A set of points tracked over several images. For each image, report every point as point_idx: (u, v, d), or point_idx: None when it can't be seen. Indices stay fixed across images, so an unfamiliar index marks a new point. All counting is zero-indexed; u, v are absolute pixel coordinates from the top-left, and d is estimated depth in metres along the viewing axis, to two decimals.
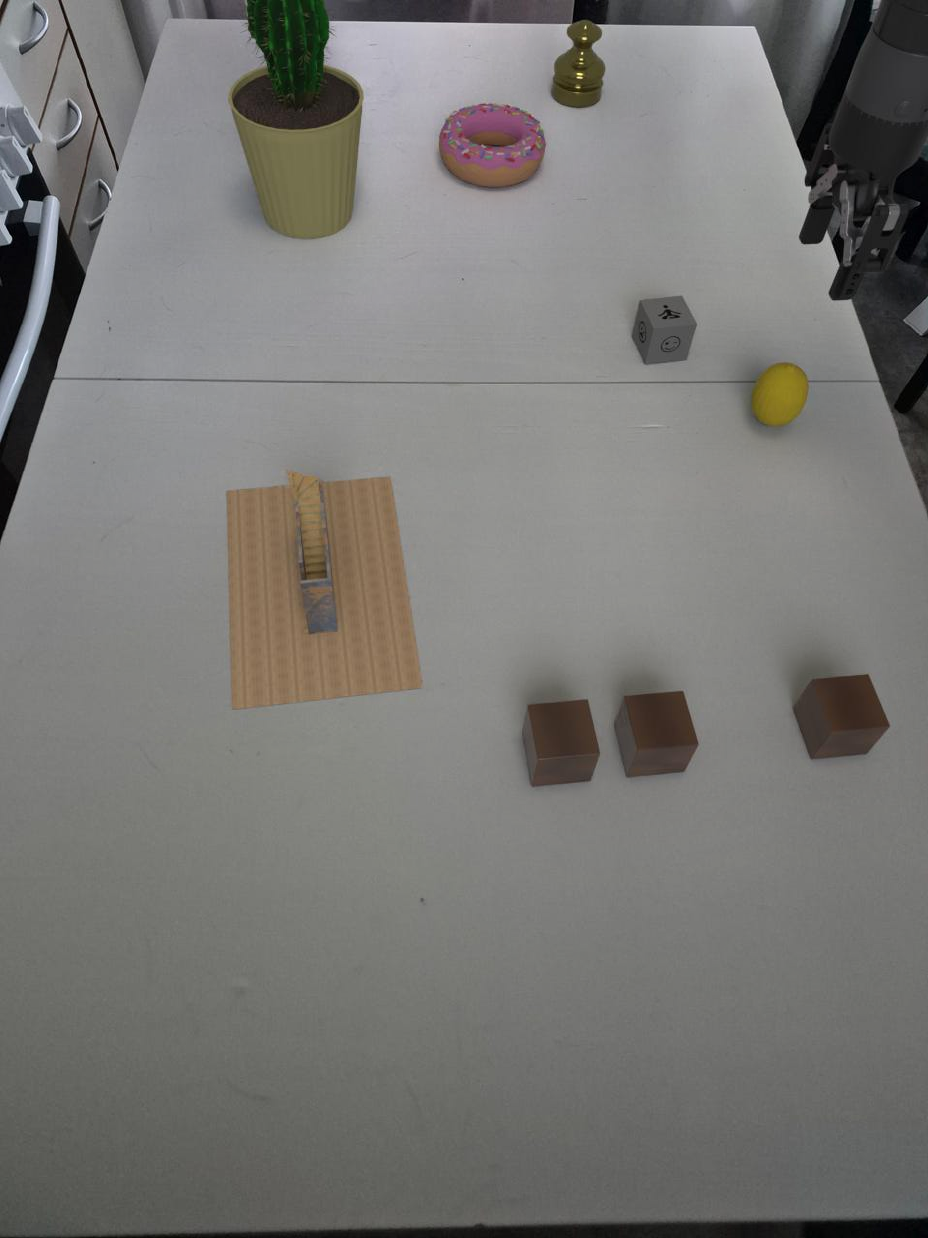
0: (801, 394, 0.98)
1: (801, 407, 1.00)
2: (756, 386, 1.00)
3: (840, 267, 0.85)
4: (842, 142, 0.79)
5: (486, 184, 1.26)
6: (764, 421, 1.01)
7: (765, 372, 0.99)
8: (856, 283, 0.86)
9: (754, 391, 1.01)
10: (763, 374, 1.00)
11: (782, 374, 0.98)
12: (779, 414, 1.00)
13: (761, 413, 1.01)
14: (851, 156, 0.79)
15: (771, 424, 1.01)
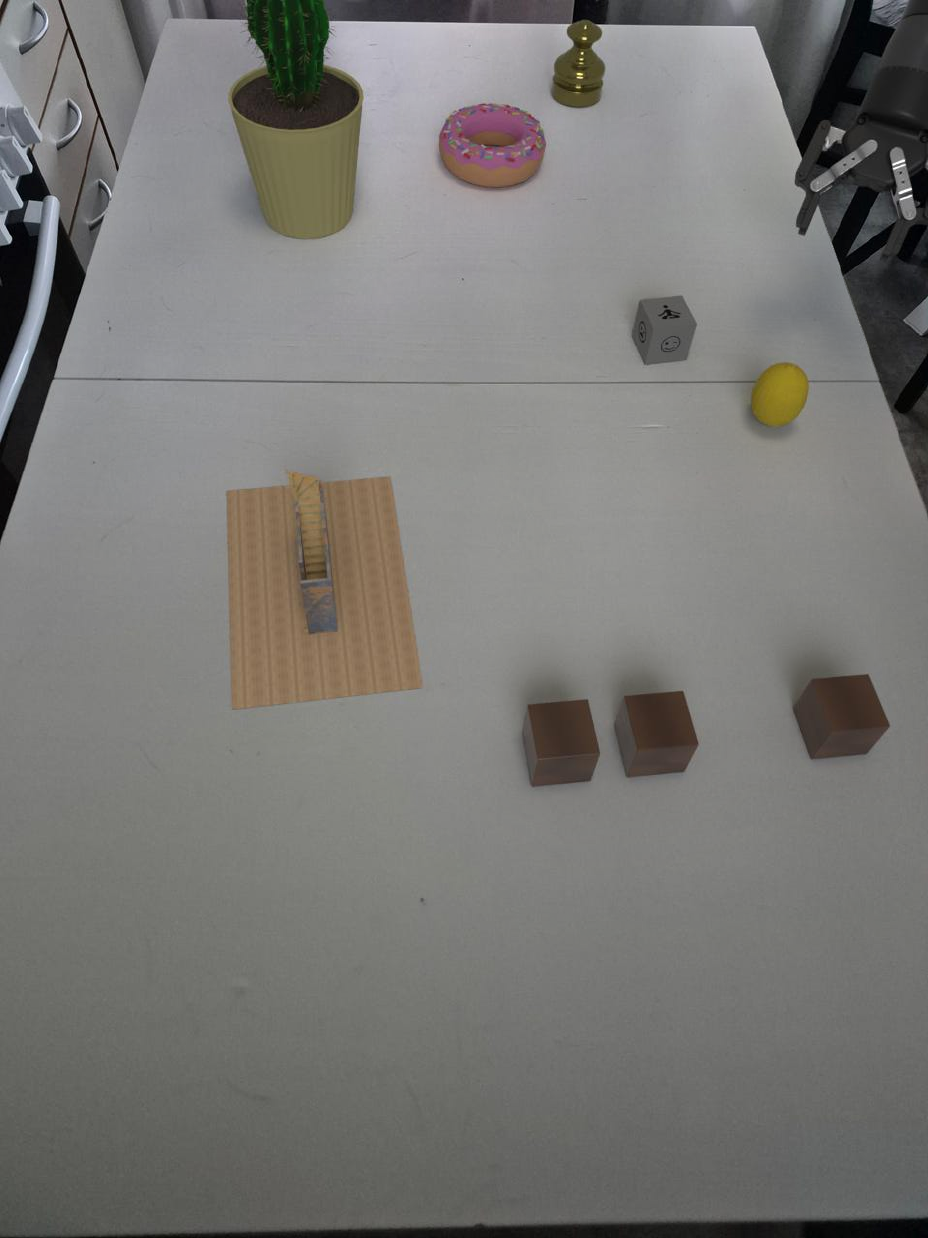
0: (801, 394, 0.98)
1: (801, 407, 1.00)
2: (756, 386, 1.00)
3: None
4: None
5: (486, 184, 1.26)
6: (764, 421, 1.01)
7: (765, 372, 0.99)
8: (801, 206, 0.98)
9: (754, 391, 1.01)
10: (763, 374, 1.00)
11: (782, 374, 0.98)
12: (779, 414, 1.00)
13: (761, 413, 1.01)
14: None
15: (771, 424, 1.01)
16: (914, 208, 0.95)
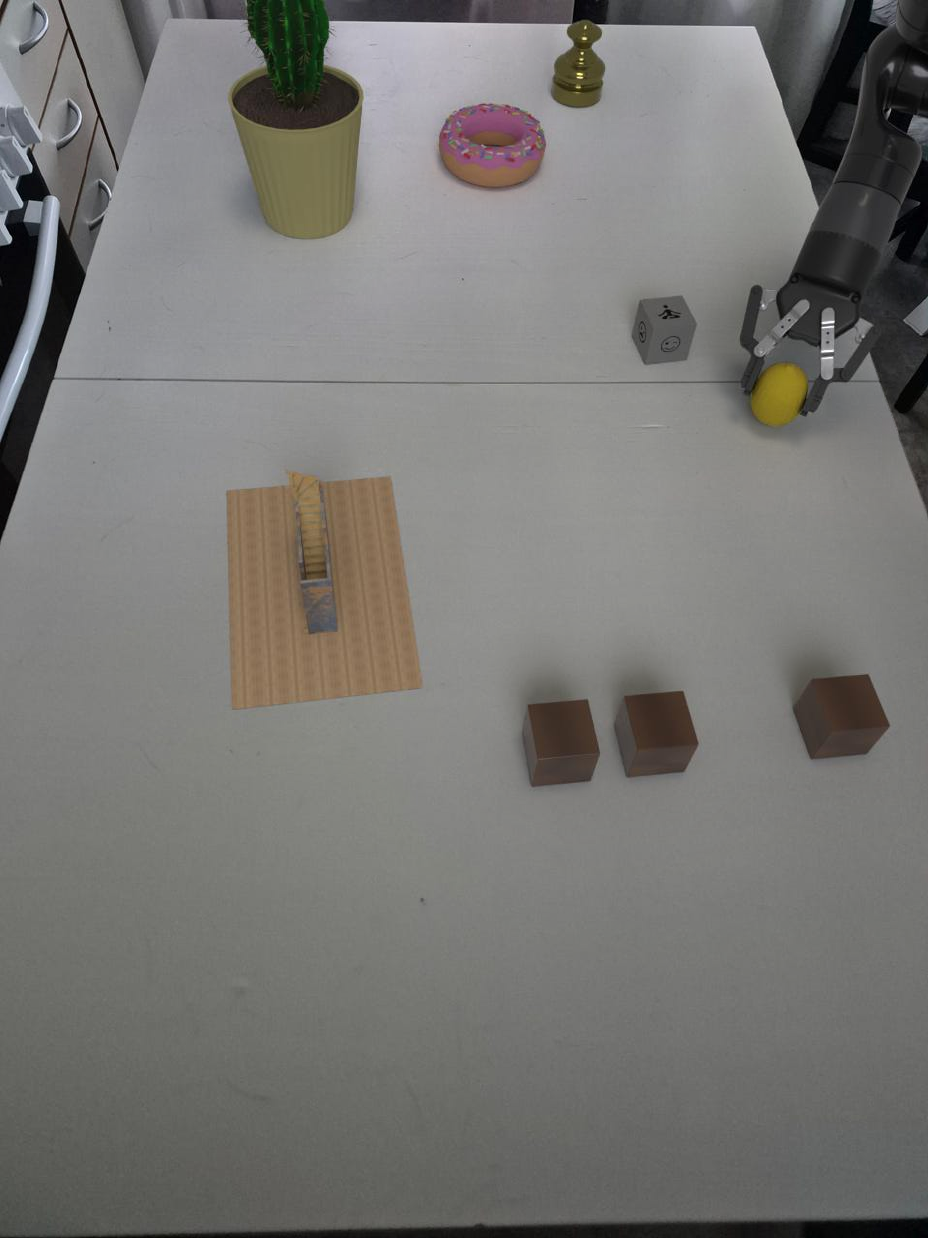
0: (800, 393, 0.98)
1: (801, 407, 1.00)
2: (756, 386, 1.00)
3: None
4: None
5: (486, 184, 1.26)
6: (764, 421, 1.01)
7: (765, 372, 0.99)
8: None
9: (754, 391, 1.01)
10: (763, 374, 1.00)
11: (781, 374, 0.98)
12: (779, 414, 1.00)
13: (760, 413, 1.01)
14: None
15: (771, 424, 1.01)
16: (832, 370, 0.97)
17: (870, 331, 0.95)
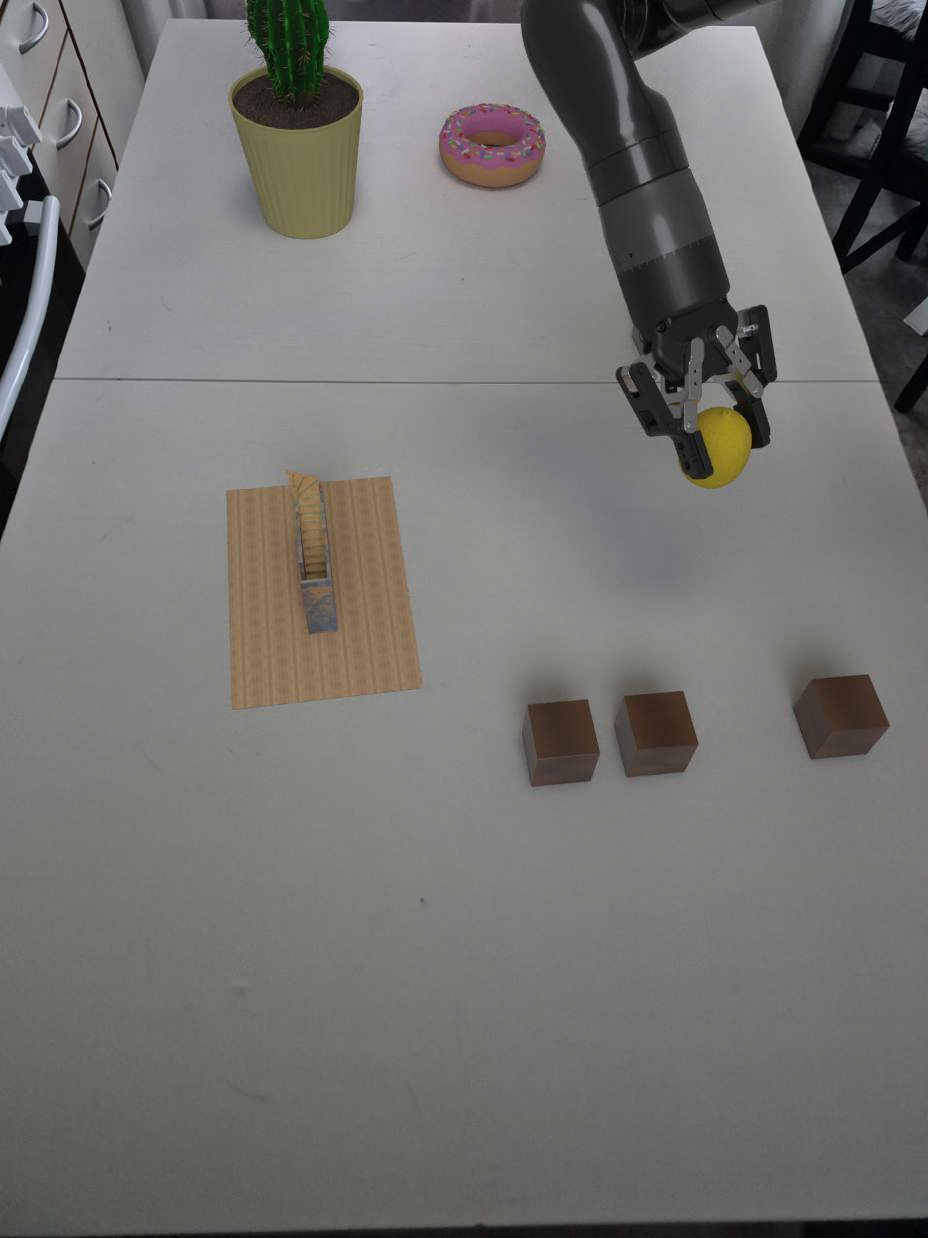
0: (750, 430, 0.75)
1: None
2: None
3: None
4: None
5: (486, 184, 1.26)
6: None
7: None
8: (686, 455, 0.74)
9: None
10: None
11: (729, 428, 0.74)
12: (744, 466, 0.76)
13: (724, 481, 0.76)
14: None
15: None
16: (759, 383, 0.75)
17: (758, 317, 0.74)
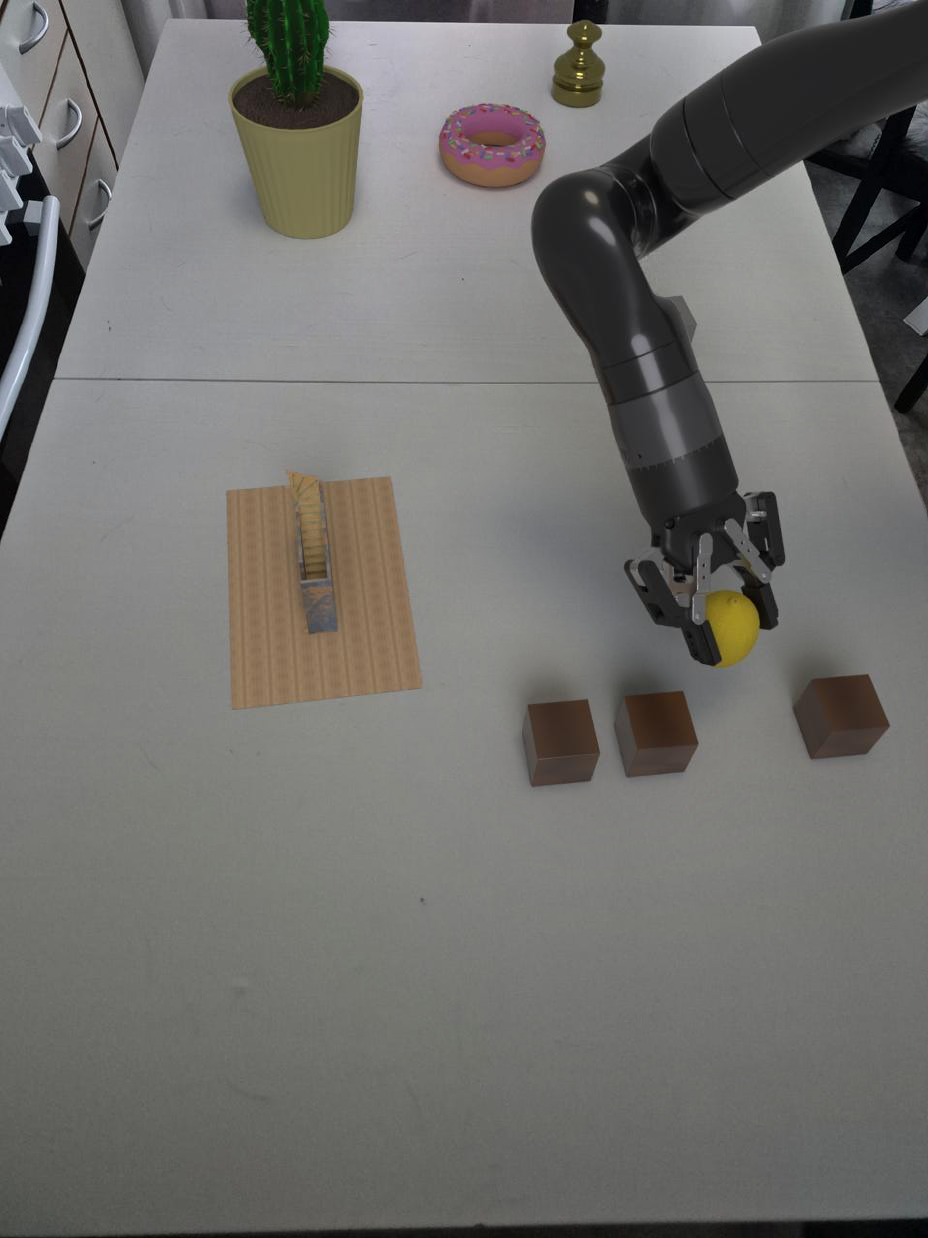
0: None
1: None
2: None
3: None
4: None
5: (486, 184, 1.26)
6: None
7: None
8: (694, 644, 0.74)
9: None
10: None
11: (738, 617, 0.74)
12: (752, 648, 0.76)
13: (732, 663, 0.76)
14: None
15: None
16: (767, 568, 0.75)
17: (766, 504, 0.74)
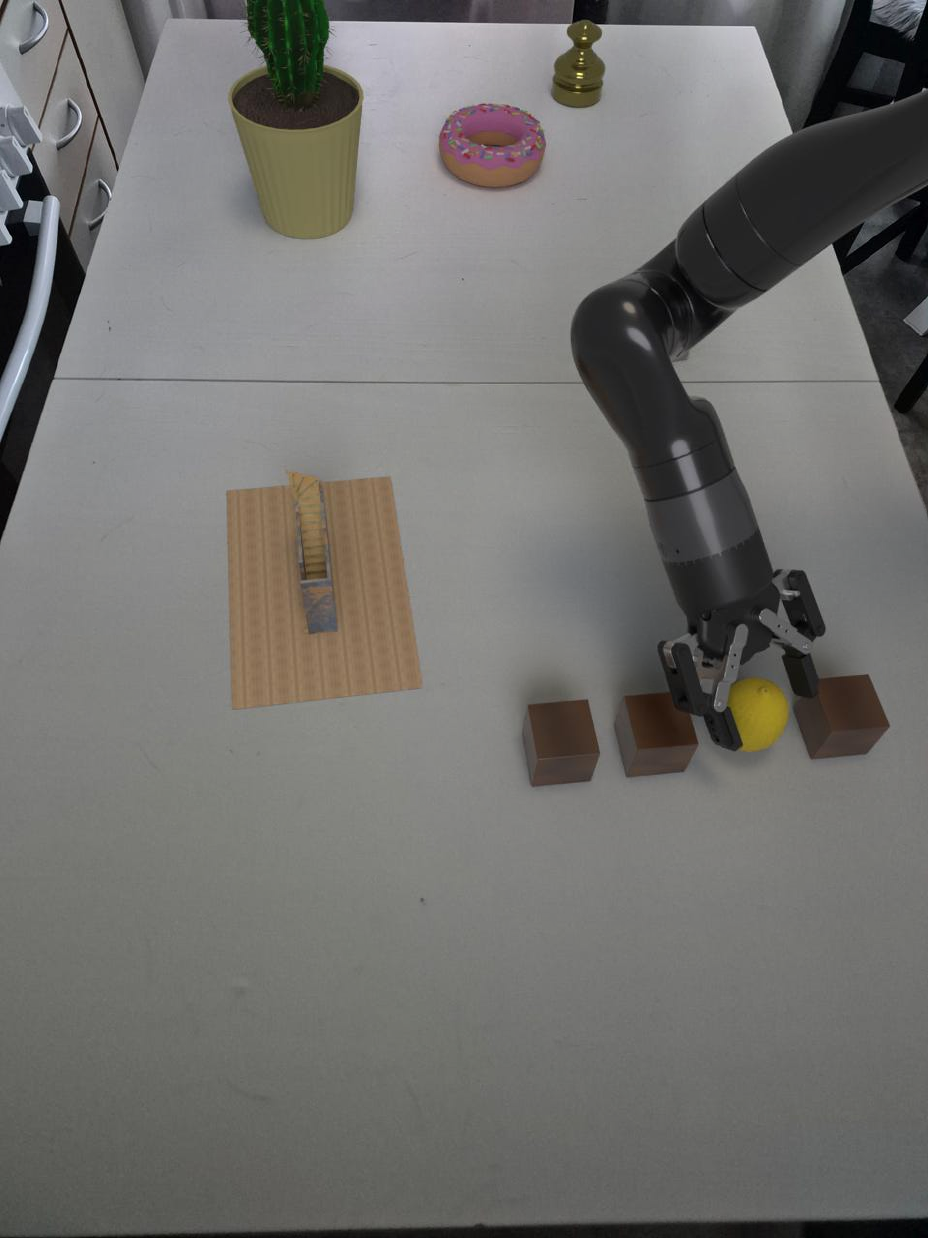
0: None
1: None
2: (741, 733, 0.77)
3: None
4: None
5: (486, 184, 1.26)
6: None
7: (742, 716, 0.76)
8: (715, 730, 0.74)
9: (741, 738, 0.77)
10: (741, 719, 0.76)
11: (768, 707, 0.76)
12: (781, 734, 0.78)
13: (761, 749, 0.78)
14: None
15: None
16: (807, 639, 0.77)
17: (798, 583, 0.76)
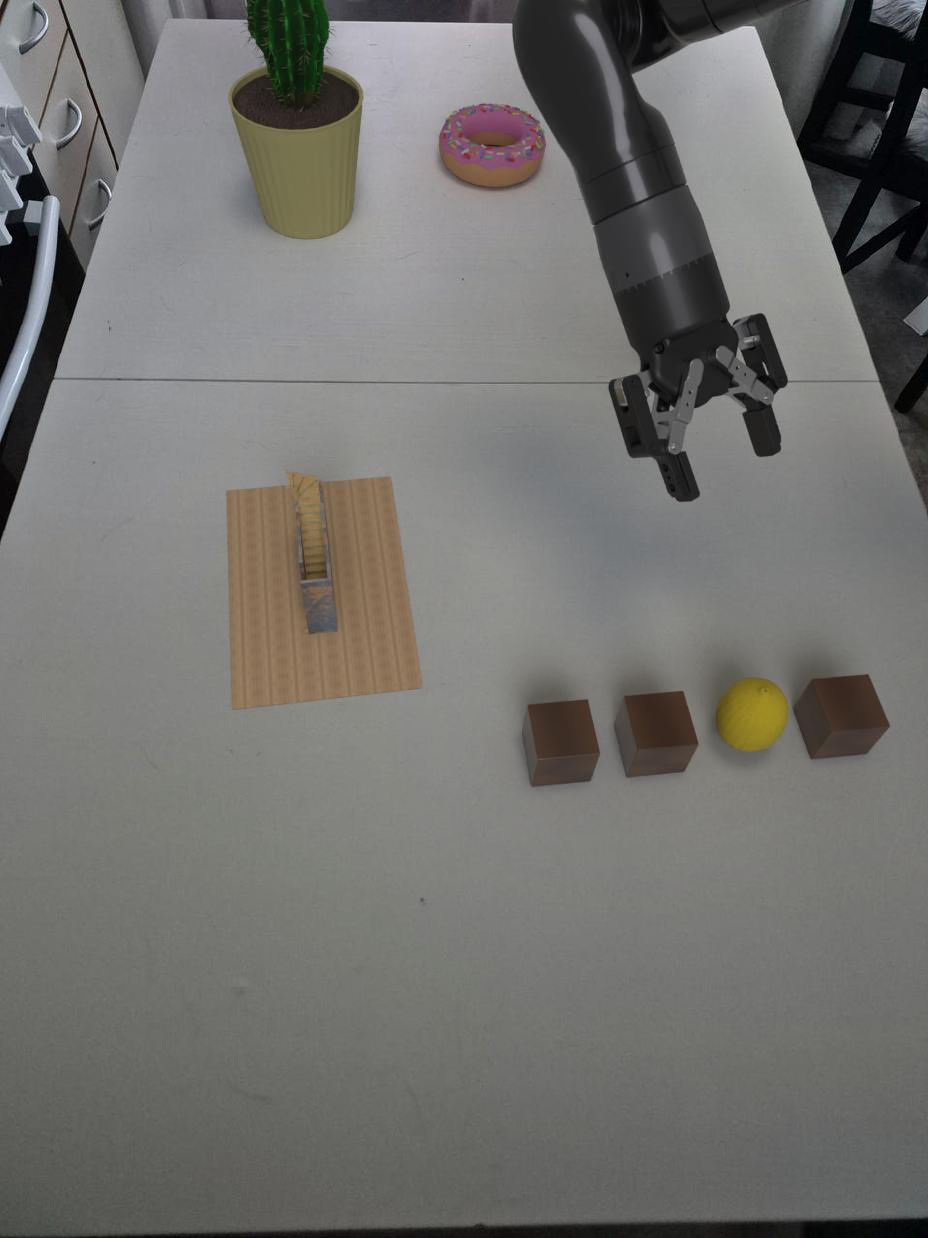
0: None
1: None
2: (741, 733, 0.77)
3: None
4: None
5: (486, 184, 1.26)
6: None
7: (742, 716, 0.76)
8: (671, 477, 0.71)
9: (741, 738, 0.77)
10: (741, 719, 0.76)
11: (768, 707, 0.76)
12: (781, 734, 0.78)
13: (761, 749, 0.78)
14: None
15: None
16: (767, 389, 0.73)
17: (758, 327, 0.72)
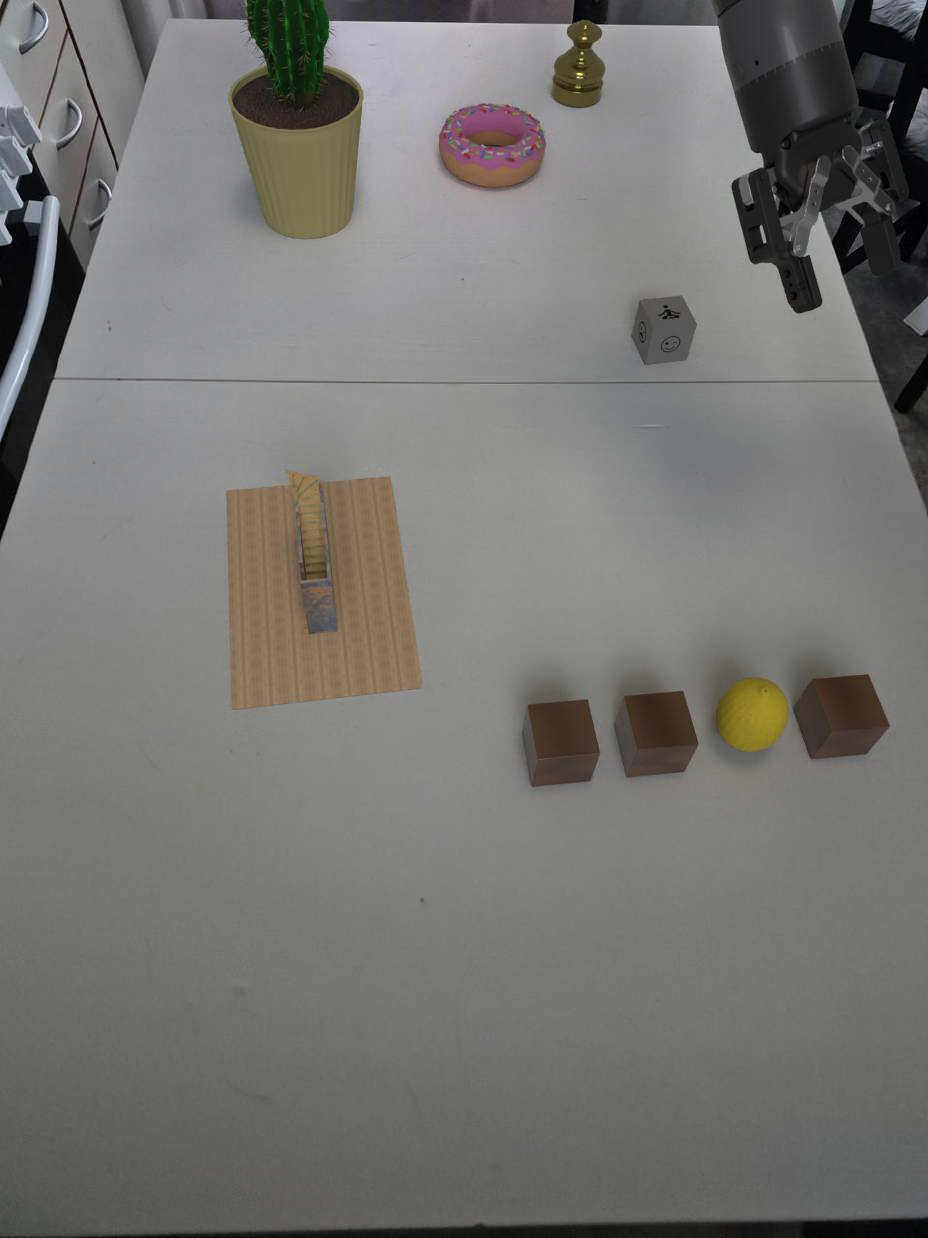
0: None
1: None
2: (741, 733, 0.77)
3: None
4: None
5: (486, 184, 1.26)
6: None
7: (742, 716, 0.76)
8: (793, 283, 0.69)
9: (741, 738, 0.77)
10: (741, 719, 0.76)
11: (768, 707, 0.76)
12: (781, 734, 0.78)
13: (761, 749, 0.78)
14: None
15: None
16: (889, 198, 0.71)
17: (881, 133, 0.70)
